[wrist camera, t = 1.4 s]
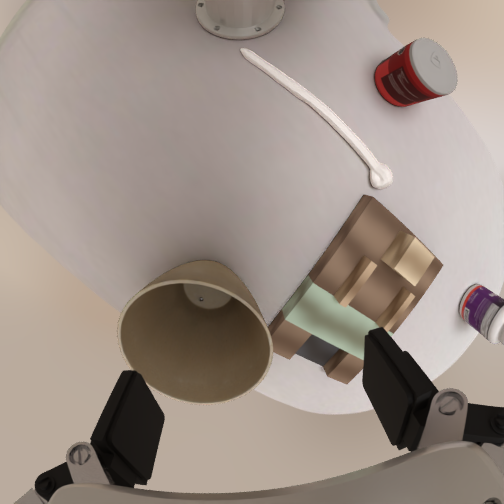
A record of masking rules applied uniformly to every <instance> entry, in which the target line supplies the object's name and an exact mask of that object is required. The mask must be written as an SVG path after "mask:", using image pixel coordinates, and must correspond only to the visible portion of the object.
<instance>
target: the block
mask: <svg viewBox="0 0 504 504" xmlns="http://www.w3.org/2000/svg"><path fill="white" fill-rule="evenodd" d="M433 259H434V256H433V255H432V254H431V253H430V252H429V250H428V249H427V248H426V247H425V246H424V245H423V244H422V243H421V242H420V241H419V240H418V239H417V238H416V237H414V236H412V235H409V234H407V233H405V232H403V231H399V233H398V234H397V236H396V237H395V239H394V240H393V242H392V243H391V245H390V246H389V248H388V249H387V251H386V252H385V254H384V255H383V257H382V258H381V260H382V261H383V262H385V263H386V264H387V265H388V266H390V267H391V268H392V269H393V270H394V271H396V272H397V273H398V274H399V275H400V276H402V277H403V278H404V279H406V280H407V281H408V282H410V283H411V284H412V285H414V286H416V284H417V283H418V282H419V280H420V279H421V277H422V276H423V274H424V273H425V271H426V270H427V268H428V267H429V265H430V264H431V262H432V261H433Z"/></svg>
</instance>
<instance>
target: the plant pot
mask: <svg viewBox="0 0 504 504" xmlns="http://www.w3.org/2000/svg"><path fill="white" fill-rule="evenodd" d="M200 298H203V300H202V301H201V300H200ZM117 337H118V344H119V348H120V351H121V353H122V356H123V358H124V360H125V362H126V363H127V365H128V366H129V368H130V369H131V370H136V371H137V372H138V373H140V374H141V375H142V377H143V378H144V380H145V382H146V384H147V386H148V387H150V388H151V389H153V390H154V391H156V392H158V393H159V394H162V395H164V396H166V397H169V398H171V399H174V400H177V401H180V402H185V403H190V404H199V405H212V404H220V403H225V402H229V401H232V400H235V399H237V398H240V397H242V396H243V395H246V394H247V393H249V392H250V391H252V390H253V389H254V388H255V387H257V386H258V385H259V384H260V383H261V381H262V380H263V379H264V377H265V376H266V374H267V372H268V370H269V368H270V365H271V362H272V358H273V343H272V338H271V335H270V332H269V329H268V327H267V325H266V323H265V320H264V318H263V316H262V314H261V312H260V310H259V308H258V305H257V303H256V302H255V300H254V298H253V296H252V295H251V293H250V292H249V290H248V289H247V287H246V286H245V285H244V283H243V282H242V281H241V280H240V279H239V277H238V276H237V275H236V274H235V273H234V272H232V271H231V270H230V269H229V268H227V267H226V266H224V265H222V264H220V263H218V262H215V261H210V260H200V261H194V262H189V263H186V264H183V265H180V266H178V267H176V268H174V269H171V270H170V271H168V272H166V273H164V274H163V275H161V276H160V277H158V278H156V279H155V280H154V281H152V282H151V283H149V284H148V285H147V286H146V287H144V288H143V289H142V290H141V291H139V292H138V293H137V294H136V295H135V296H133V297H132V298H131V299H130V300H129V302H128V303H127V304H126V306H125V307H124V309H123V310H122V313H121V315H120V318H119V321H118V328H117Z"/></svg>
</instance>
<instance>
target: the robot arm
mask: <svg viewBox="0 0 504 504" xmlns="http://www.w3.org/2000/svg"><path fill="white" fill-rule="evenodd" d="M284 10H285V6H284V1H283V0H197V3H196V7H195V11H196V16H197V19H198V21H199V23H200V24H201V25H202V27H203V28H204V29H206V30H207V31H208V32H210V33H212V34H214V35H216V36H219V37H223V38H228V39H240V40H242V39H251V38H255V37H259V36H261V35H264V34H266V33H268V32H270V31H271V30H273V29H274V28H275V27H276V26H278V24H279V23H280V21H281V20H282V17H283V15H284ZM216 30H217V31H216ZM257 31H259V32H257ZM362 382H363V387H364V389H365V391H366V393H367V395H368V397H369V399H370V401H371V403H372V405H373V407H374V409H375V411H376V413H377V415H378V417H379V420H380V421H381V423H382V426H383V428H384V430H385V432H386V434H387V436H388V438H389V440H390V442H391V444H392V445H393V446H394V445H397V448H398V449H399V450H401V449H403V448H406V447H407V448H408V450H409V451H411V452H410V453H407V454H404V455H402V456H399V457H396V458H393V459H391V460H388V461H385V462H382V463H380V464H377V465H374V466H371V467H368V468H365V469H361V470H358V471H355V472H352V473H348V474H345V475H341V476H337V477H333V478H330V479H326V480H322V481H317V482H312V483H307V484H302V485H297V486H291V487H285V488H278V489H271V490H262V491H252V492H239V493H209V494H206V493H204V494H202V493H201V494H200V493H175V492H162V491H153V490H144V489H135V488H134V485H135V484H140V485H147V480H149V479H150V478H151V475H152V471H153V466H154V462H155V458H156V453H157V449H158V445H159V441H160V436H161V432H162V428H163V424H164V420H165V419H164V413H163V412H162V410H161V408H160V407H159V405H158V403H157V401H156V400H155V398H154V396H153V395H152V393H151V391H150V389H149V388H148V386H147V384H146V382H145V380H144V378H143V377H142V375H141V374H140V373H138V372H137V371H136V370H128V371H123V372H122V373H121V375H120V377H119V379H118V381H117V383H116V385H115V387H114V389H113V391H112V393H111V395H110V397H109V399H108V401H107V404H106V406H105V408H104V410H103V412H102V414H101V416H100V418H99V420H98V423H97V425H96V427H95V429H94V431H93V434H92V436H91V438H90V439H91V443H90V444H89V443H87V442H78V443H75V444H74V445H72V446H71V447H70V448H69V449H68V451H67V454H66V460H67V462H65V463H63V464H61V465H59V466H57V467H55V468H53V469H51V470H49V471H46V472H44V473H42V474H41V475H39V476H38V478H37V479H36V481H35V490H33V489H30V490H29V491H28V492H27V493H26V494H24V496H22V497H21V498H20V499H19V500H17V501H16V502H15V503H14V504H504V407H493V406H485V405H478V404H470V403H468V400H467V397H466V395H465V394H464V393H463V392H461V391H459V390H457V389H453V388H449V389H444V390H441V391H438V390H437V389H436V387H435V386H434V385H433V383H432V382H431V381H430V379H429V378H428V377H427V375H426V374H425V373H424V372H423V370H422V369H421V368H420V366H419V365H418V364H417V363H416V361H415V360H414V359H413V358H412V356H411V355H410V354H409V353H408V352H407V351H402V350H401V349H400V347H399V346H398V345H397V344H396V342H395V341H394V340H393V339H392V337H391V336H390V335H389V334H388V333H387V331H386V330H385V329H384V328H383V327H379V328H376V329H372V330H370V331H369V332H368V335H365V342H364V364H363V379H362Z"/></svg>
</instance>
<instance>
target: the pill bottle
mask: <svg viewBox="0 0 504 504" xmlns="http://www.w3.org/2000/svg"><path fill="white" fill-rule="evenodd" d="M460 315H461V317H462V319H463V320H465V321H466V322H467V323H468V324H469V325H471V326H472V327H473V328H474V329H475V330H477V331H478V332H479V333H480V334H482V335H483V336H484V337H485V338H486V339H487V340H488V341H490V343H492V344H498V343H500V342H501V343H502V344H503V345H504V299H502V298H501V297H499V296H498V295H496V294H495V293H493V292H492V291H490V290H488V289H487V288H485V287H484V286H482V285H479V284H477V285H474V286H472V287H470V288H469V289H468V291H467V292H466V293H465V295H464V297H463V299H462V301H461V304H460Z"/></svg>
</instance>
